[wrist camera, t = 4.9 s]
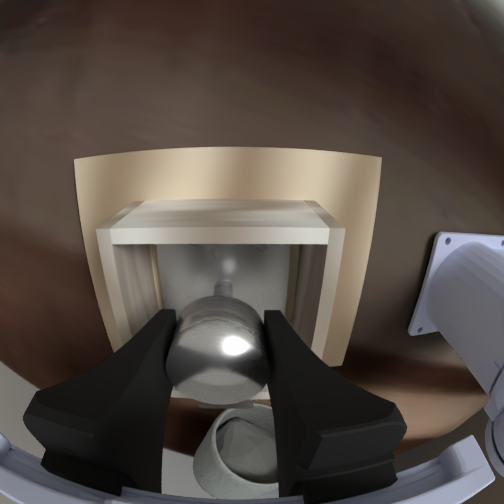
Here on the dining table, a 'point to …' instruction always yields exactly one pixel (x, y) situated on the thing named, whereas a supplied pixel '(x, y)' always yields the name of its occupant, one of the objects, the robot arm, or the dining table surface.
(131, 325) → the base
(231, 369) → the plunger
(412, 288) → the dining table surface
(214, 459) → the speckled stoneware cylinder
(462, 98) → the dining table surface
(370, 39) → the dining table surface
